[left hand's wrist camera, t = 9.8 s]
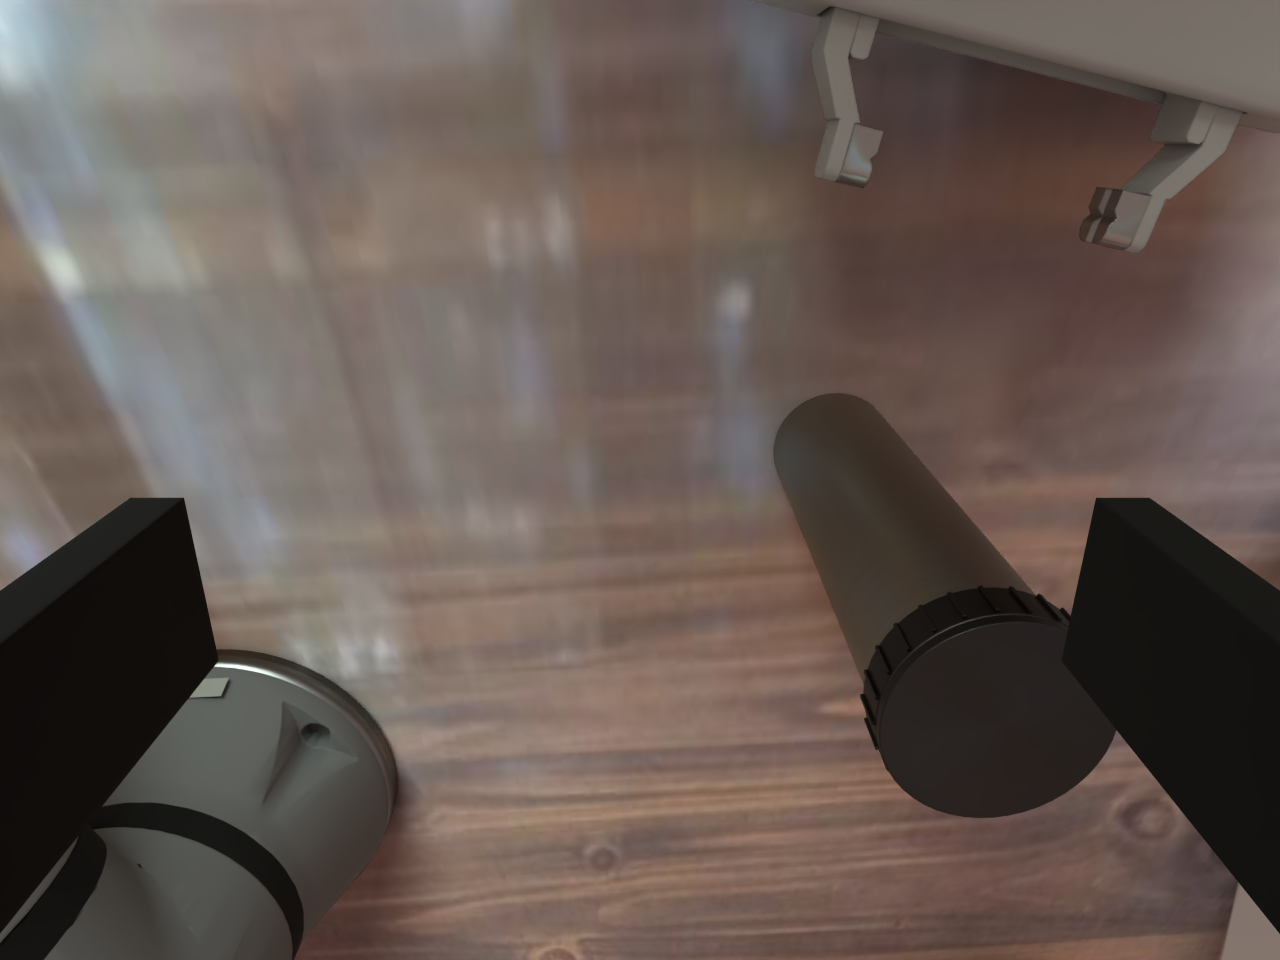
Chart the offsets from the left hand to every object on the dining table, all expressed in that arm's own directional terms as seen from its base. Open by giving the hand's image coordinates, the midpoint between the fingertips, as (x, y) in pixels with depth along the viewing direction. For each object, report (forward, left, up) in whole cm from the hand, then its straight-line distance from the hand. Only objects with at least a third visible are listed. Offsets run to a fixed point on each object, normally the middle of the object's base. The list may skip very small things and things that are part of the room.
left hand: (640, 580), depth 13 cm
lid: (-7, -9, -6) cm, 13 cm away
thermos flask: (-7, -9, -25) cm, 28 cm away
